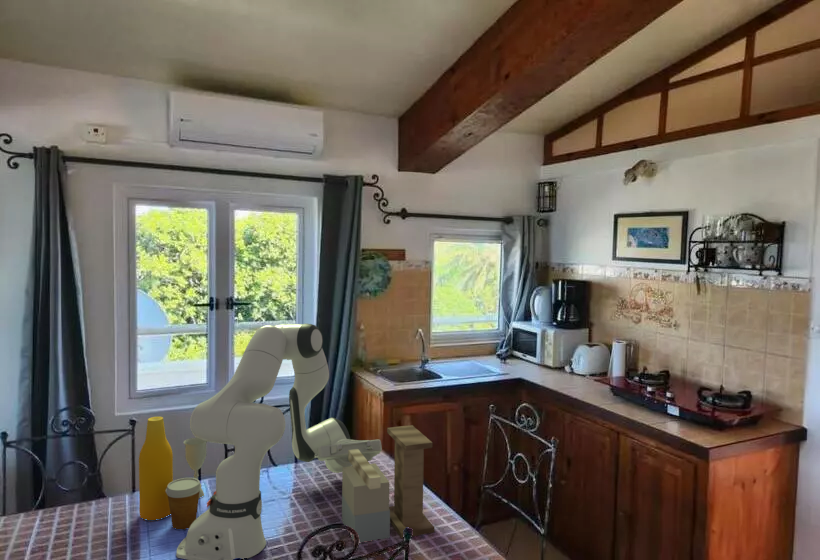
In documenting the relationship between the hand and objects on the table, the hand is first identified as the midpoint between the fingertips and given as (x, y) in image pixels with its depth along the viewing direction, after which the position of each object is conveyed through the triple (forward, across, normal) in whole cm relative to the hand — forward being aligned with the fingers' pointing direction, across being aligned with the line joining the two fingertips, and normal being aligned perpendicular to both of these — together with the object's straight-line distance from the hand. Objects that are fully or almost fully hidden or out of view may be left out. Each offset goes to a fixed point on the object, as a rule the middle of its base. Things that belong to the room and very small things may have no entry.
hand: (354, 445), depth 168 cm
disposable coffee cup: (-16, -49, +14) cm, 53 cm away
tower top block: (+5, 0, +17) cm, 17 cm away
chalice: (-32, -46, +5) cm, 56 cm away
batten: (+8, 0, +9) cm, 12 cm away
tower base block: (+1, 0, +24) cm, 24 cm away
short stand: (+1, +13, +24) cm, 27 cm away
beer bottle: (-24, -56, +10) cm, 62 cm away
